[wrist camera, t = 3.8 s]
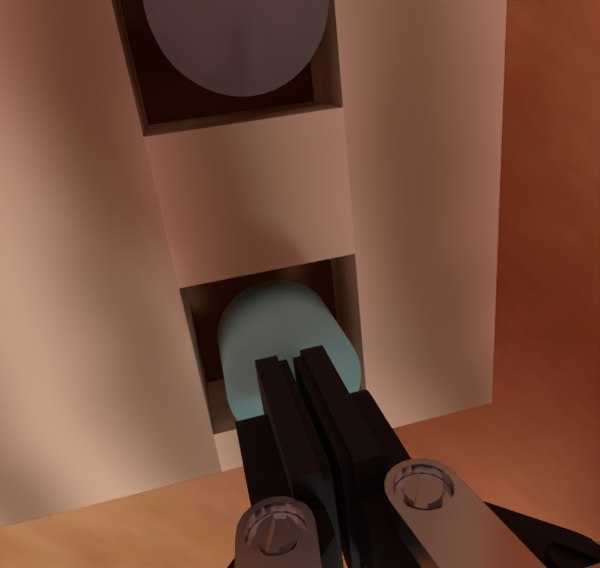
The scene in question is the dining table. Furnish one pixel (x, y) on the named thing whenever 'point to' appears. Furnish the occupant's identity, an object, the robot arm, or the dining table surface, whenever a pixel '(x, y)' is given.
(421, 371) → the control panel
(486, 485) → the dining table surface
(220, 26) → the charcoal button
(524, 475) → the dining table surface
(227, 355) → the teal button
